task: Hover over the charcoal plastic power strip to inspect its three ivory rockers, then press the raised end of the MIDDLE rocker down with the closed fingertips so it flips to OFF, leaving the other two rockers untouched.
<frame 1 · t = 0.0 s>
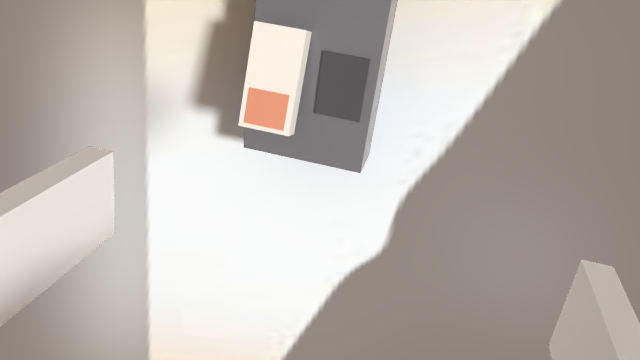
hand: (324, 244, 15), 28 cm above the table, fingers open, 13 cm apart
rocker 3: (274, 79, 38), point 6 cm above the table, hinge at -12.0°
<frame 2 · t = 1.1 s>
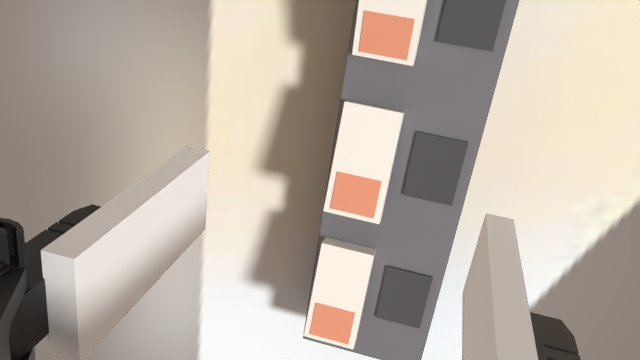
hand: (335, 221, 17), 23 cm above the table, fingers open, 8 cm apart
rocker 2: (363, 162, 35), point 6 cm above the table, hinge at -12.0°
rocker 3: (339, 293, 39), point 6 cm above the table, hinge at -12.0°
strip: (406, 141, 40), on the table
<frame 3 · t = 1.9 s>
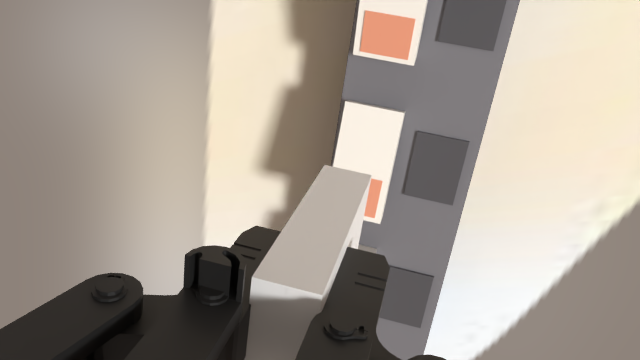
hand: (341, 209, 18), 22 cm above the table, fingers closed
rocker 2: (364, 161, 35), point 6 cm above the table, hinge at -12.0°
rocker 3: (340, 292, 39), point 6 cm above the table, hinge at -12.0°
strip: (407, 141, 40), on the table
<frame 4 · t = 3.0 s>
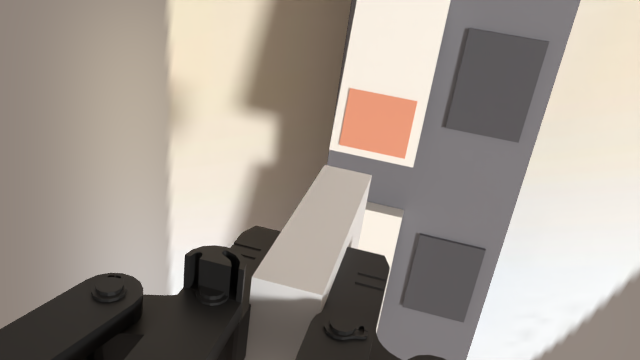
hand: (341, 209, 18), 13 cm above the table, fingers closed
rocker 2: (389, 74, 23), point 6 cm above the table, hinge at -12.0°
rocker 3: (352, 272, 28), point 6 cm above the table, hinge at -12.0°
strip: (446, 58, 28), on the table
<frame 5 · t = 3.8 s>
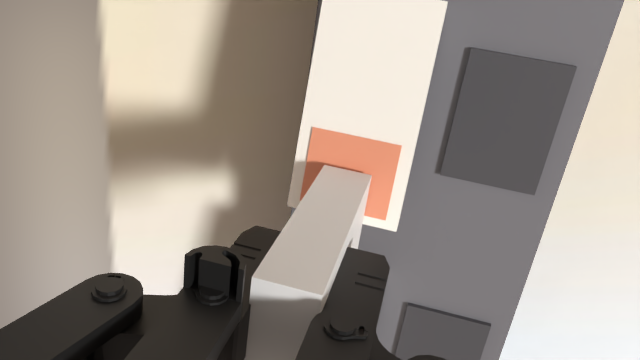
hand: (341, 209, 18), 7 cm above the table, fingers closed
rocker 2: (365, 108, 18), point 6 cm above the table, hinge at -11.7°, touching gripper
strip: (441, 82, 22), on the table
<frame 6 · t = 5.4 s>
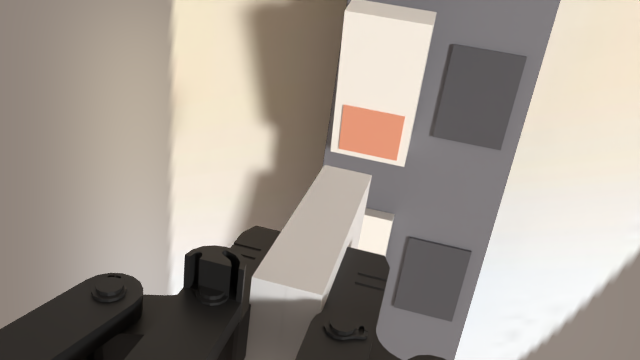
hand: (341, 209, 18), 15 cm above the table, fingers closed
rocker 2: (379, 87, 25), point 6 cm above the table, hinge at 14.7°, touching strip
rocker 3: (345, 273, 29), point 6 cm above the table, hinge at -12.0°
strip: (434, 72, 30), on the table
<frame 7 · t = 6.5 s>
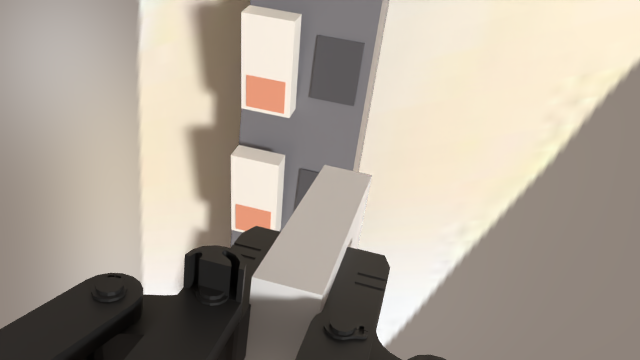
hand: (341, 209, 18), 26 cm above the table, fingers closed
rocker 2: (257, 194, 42), point 6 cm above the table, hinge at 11.1°
rocker 1: (269, 63, 38), point 6 cm above the table, hinge at 12.0°
strip: (303, 173, 47), on the table
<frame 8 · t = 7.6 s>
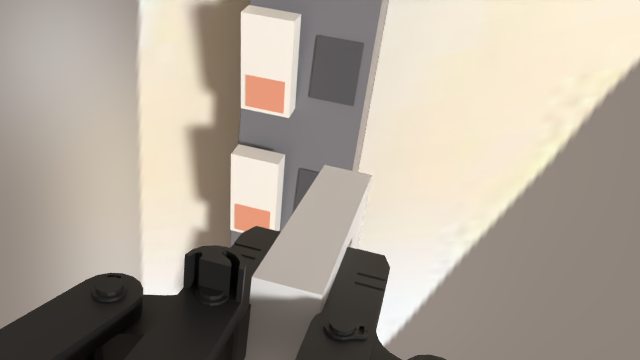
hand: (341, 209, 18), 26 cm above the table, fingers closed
rocker 2: (256, 193, 42), point 6 cm above the table, hinge at 9.4°
rocker 1: (269, 63, 38), point 6 cm above the table, hinge at 12.0°
strip: (303, 173, 47), on the table
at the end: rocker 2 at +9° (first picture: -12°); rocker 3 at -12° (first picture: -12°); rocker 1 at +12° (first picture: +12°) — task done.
